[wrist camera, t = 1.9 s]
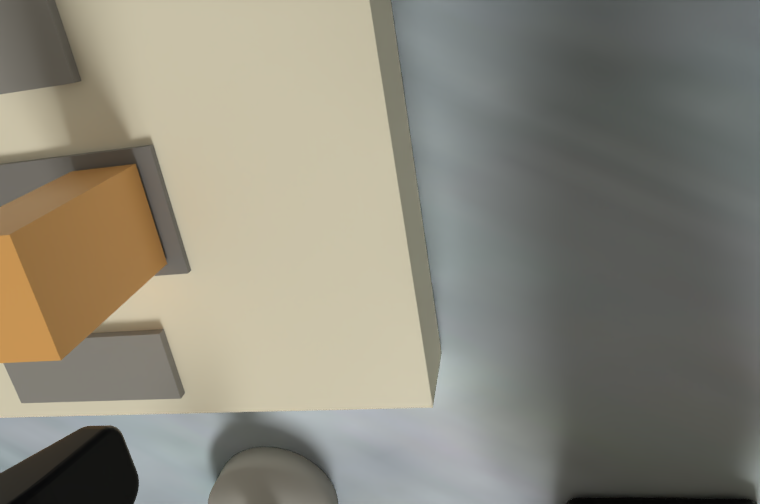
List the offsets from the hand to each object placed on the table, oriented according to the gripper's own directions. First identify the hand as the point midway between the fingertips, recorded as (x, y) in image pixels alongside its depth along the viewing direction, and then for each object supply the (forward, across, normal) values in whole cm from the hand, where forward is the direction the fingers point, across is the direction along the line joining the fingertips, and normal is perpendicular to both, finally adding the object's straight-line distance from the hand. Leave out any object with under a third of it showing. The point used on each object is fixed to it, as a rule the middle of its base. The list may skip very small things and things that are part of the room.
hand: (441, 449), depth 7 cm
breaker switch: (+10, +10, 0) cm, 14 cm away
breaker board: (+13, +13, 0) cm, 18 cm away
